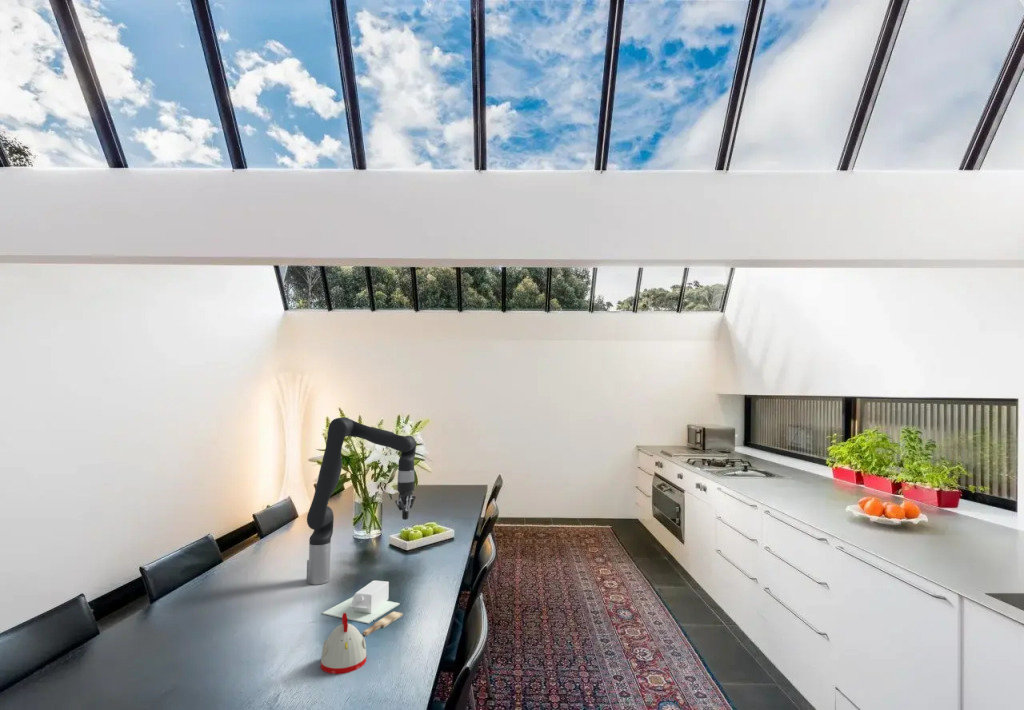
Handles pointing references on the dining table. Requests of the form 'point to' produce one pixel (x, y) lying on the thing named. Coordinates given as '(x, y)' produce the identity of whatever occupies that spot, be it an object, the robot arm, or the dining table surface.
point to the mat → (358, 616)
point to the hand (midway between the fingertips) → (405, 519)
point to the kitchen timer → (343, 649)
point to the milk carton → (370, 597)
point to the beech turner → (383, 622)
